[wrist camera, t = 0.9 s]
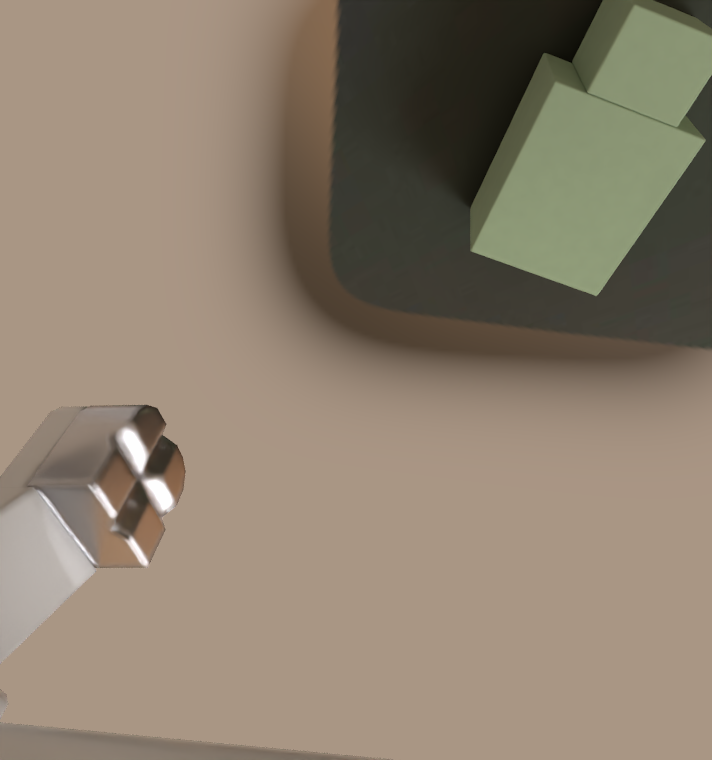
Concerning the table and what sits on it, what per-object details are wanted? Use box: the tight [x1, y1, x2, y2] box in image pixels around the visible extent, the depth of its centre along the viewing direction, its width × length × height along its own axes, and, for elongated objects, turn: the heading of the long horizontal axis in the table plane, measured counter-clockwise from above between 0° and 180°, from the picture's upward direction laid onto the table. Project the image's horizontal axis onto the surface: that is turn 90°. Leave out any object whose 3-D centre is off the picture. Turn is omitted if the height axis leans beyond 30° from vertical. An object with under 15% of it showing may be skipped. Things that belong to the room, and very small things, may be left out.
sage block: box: [470, 0, 712, 296], centre depth 21 cm, size 5×8×4 cm, turn 163°
